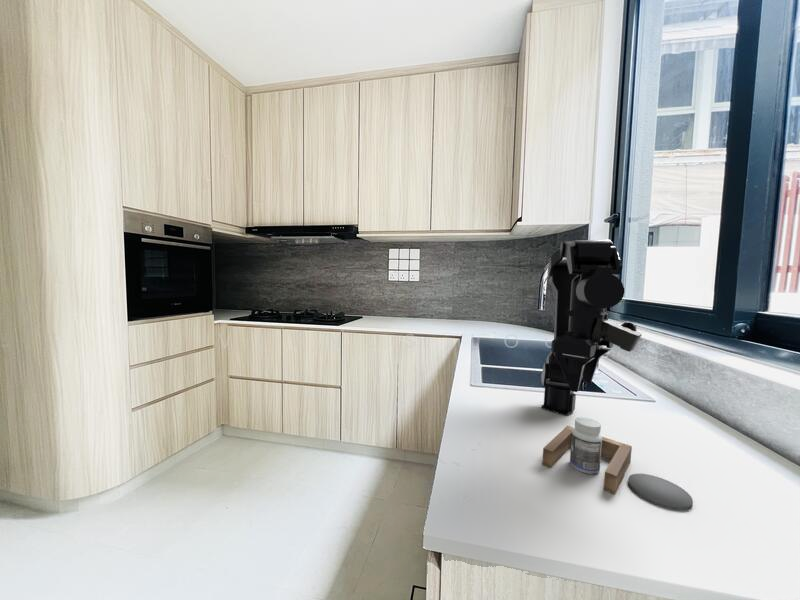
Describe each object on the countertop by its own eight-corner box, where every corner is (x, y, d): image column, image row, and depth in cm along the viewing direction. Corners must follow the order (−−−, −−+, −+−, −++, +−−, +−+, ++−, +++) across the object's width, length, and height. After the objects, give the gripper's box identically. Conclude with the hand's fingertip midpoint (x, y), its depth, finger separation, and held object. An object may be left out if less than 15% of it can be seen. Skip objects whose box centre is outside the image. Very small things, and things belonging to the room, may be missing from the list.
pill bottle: (574, 456, 61) (577, 413, 61) (602, 467, 58) (606, 422, 57) (565, 466, 58) (569, 420, 57) (595, 478, 54) (599, 430, 54)
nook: (542, 464, 58) (543, 448, 58) (566, 439, 68) (567, 425, 68) (615, 494, 50) (616, 476, 50) (630, 461, 60) (631, 446, 60)
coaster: (623, 491, 51) (624, 487, 51) (632, 471, 57) (632, 467, 57) (691, 518, 46) (691, 514, 46) (693, 493, 51) (693, 489, 51)
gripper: (629, 310, 49) (622, 411, 49) (646, 308, 62) (640, 387, 63) (552, 305, 57) (547, 392, 57) (582, 304, 70) (578, 375, 71)
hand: (581, 386), depth 62 cm, fingers open, 9 cm apart
